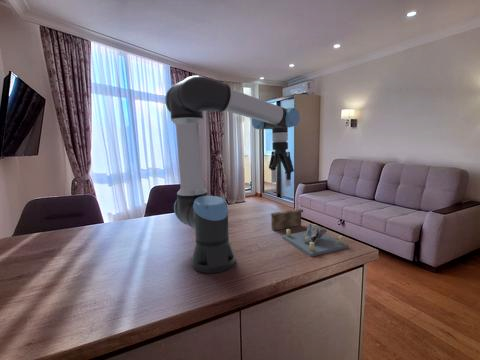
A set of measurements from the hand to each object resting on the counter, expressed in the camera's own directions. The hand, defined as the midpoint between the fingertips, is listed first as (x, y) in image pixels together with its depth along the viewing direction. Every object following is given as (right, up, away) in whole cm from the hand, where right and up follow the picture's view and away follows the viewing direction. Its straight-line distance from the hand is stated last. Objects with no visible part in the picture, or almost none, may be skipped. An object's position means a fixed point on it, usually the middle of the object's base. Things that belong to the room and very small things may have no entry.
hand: (280, 184), depth 125 cm
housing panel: (+3, -21, -2) cm, 22 cm away
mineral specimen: (+11, -23, -22) cm, 34 cm away
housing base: (+10, -24, -21) cm, 34 cm away
